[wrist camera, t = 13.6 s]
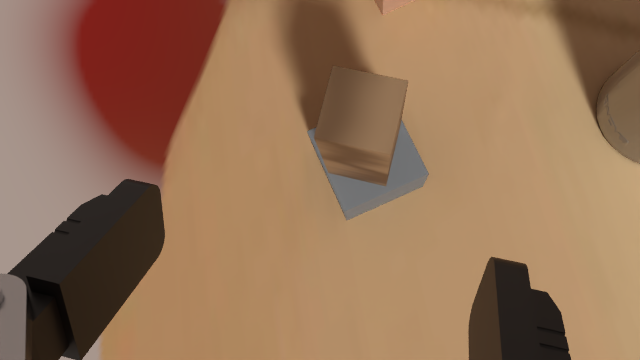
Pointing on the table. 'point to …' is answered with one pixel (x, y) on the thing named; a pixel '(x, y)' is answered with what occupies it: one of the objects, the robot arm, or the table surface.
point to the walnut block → (360, 124)
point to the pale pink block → (390, 5)
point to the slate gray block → (367, 196)
